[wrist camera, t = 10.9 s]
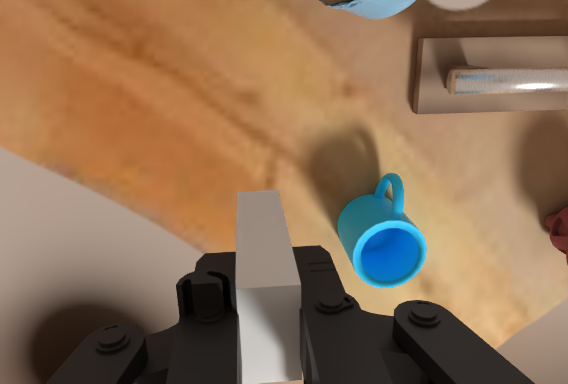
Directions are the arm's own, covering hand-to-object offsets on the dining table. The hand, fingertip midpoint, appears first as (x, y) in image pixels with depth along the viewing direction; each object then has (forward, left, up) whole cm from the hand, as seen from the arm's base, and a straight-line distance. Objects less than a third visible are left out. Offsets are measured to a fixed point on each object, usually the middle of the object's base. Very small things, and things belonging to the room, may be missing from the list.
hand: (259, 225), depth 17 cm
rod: (-2, +35, -29) cm, 45 cm away
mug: (+14, +15, -35) cm, 40 cm away
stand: (-2, +35, -34) cm, 49 cm away
